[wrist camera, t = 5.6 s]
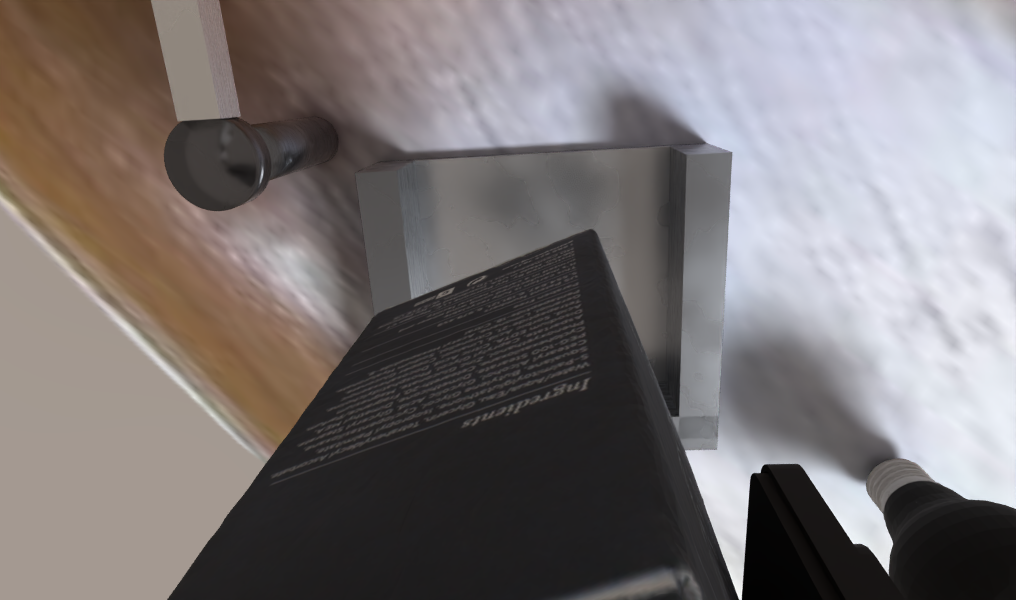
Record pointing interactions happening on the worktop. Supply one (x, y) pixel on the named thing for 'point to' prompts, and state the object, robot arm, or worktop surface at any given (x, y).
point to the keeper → (558, 237)
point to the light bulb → (943, 537)
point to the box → (480, 458)
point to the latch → (207, 111)
